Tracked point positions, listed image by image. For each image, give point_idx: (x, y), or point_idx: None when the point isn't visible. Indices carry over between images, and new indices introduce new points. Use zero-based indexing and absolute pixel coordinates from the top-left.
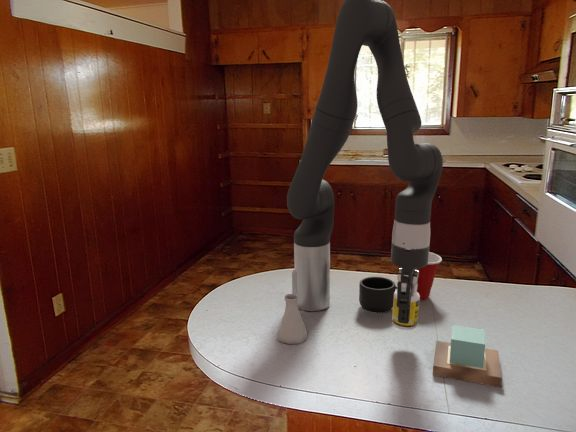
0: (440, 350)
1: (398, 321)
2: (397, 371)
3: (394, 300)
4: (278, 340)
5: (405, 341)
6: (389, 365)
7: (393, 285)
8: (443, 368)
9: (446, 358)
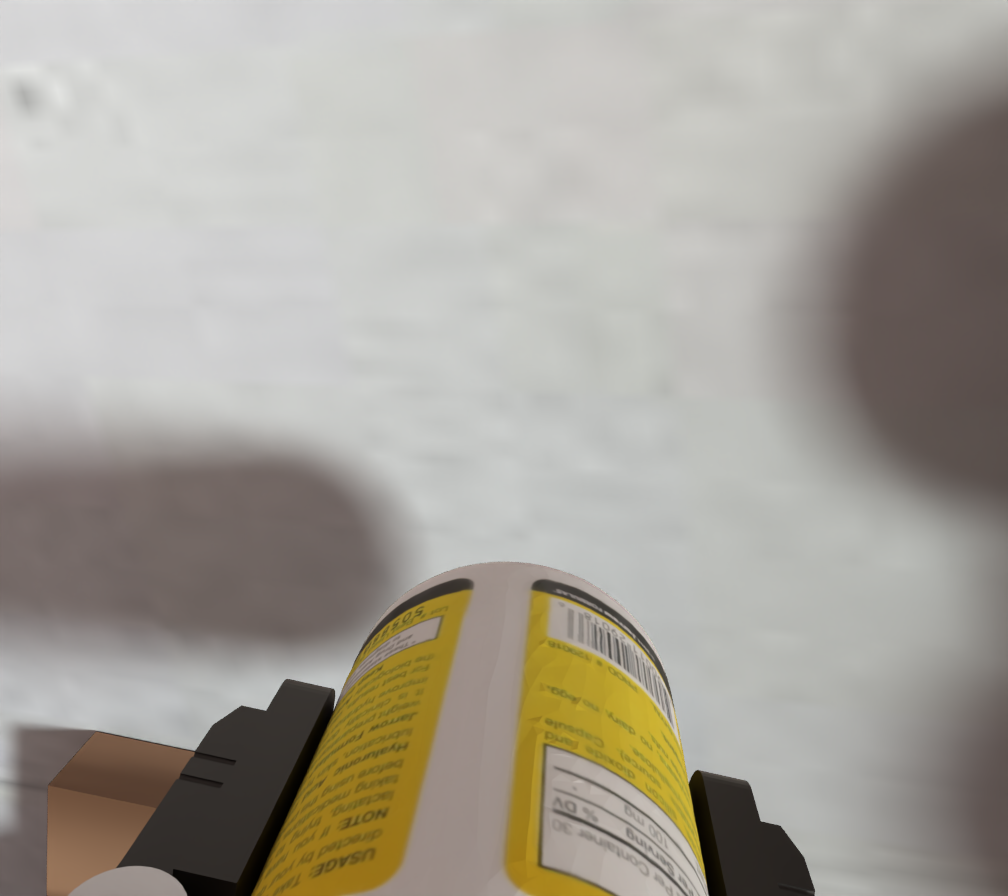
0: None
1: (289, 681)
2: (62, 487)
3: (371, 834)
4: None
5: None
6: (132, 427)
7: None
8: (50, 843)
9: None
